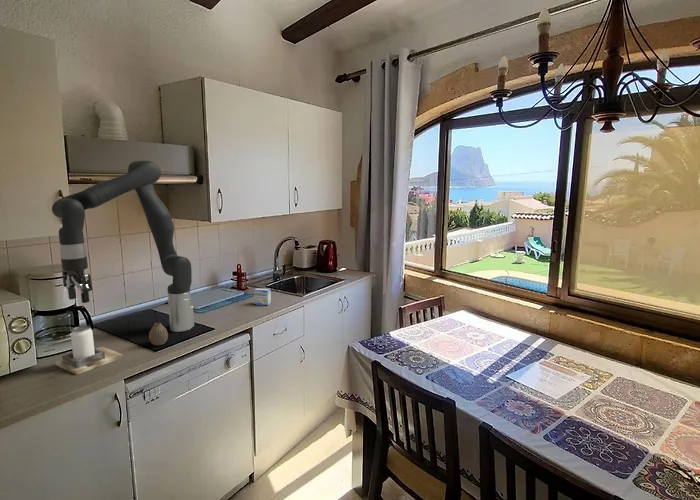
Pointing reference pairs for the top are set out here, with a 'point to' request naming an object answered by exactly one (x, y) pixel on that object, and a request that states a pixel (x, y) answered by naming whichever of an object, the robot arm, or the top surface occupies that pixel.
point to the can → (82, 342)
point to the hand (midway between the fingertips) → (79, 300)
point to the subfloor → (88, 360)
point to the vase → (158, 334)
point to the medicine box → (262, 296)
